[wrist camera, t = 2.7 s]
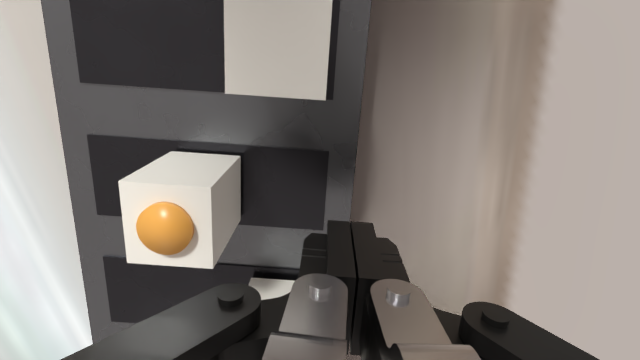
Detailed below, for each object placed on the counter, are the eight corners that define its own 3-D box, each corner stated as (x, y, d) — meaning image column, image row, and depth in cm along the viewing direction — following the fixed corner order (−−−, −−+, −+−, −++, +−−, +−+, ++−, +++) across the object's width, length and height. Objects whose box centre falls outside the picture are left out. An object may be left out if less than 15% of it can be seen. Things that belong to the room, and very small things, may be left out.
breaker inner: (253, 4, 14) (223, -19, 10) (332, 9, 14) (333, -12, 10) (252, 85, 15) (225, 93, 11) (326, 90, 15) (325, 100, 11)
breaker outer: (251, 277, 18) (228, 340, 14) (313, 282, 18) (308, 346, 14) (250, 329, 19) (229, 402, 15) (309, 333, 19) (304, 407, 15)
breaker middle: (171, 151, 16) (113, 184, 12) (240, 155, 16) (207, 190, 12) (175, 215, 17) (122, 267, 12) (240, 219, 17) (210, 273, 12)
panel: (57, -123, 15) (13, -153, 13) (376, -101, 15) (384, -128, 13) (118, 353, 22) (96, 383, 20) (332, 368, 22) (332, 400, 20)
